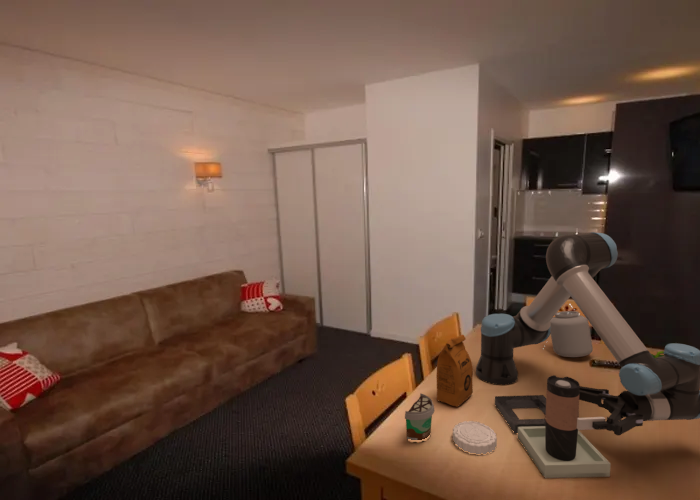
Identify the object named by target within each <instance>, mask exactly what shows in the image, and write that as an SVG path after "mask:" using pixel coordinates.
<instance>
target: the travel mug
mask: <svg viewBox="0 0 700 500" xmlns="http://www.w3.org/2000/svg"><path fill="white" fill-rule="evenodd" d="M546 379H547V380H546V396H545V397H546V415H544V416H545V418H544V419H545V446H546V451H547V453H548V454H549V455H550V456H552V457H554V458H556V459H558V460H562V461H571V460H573V459H575V457H576V448H577V436H578V429H577V418H580V417H579V416H580V413H579V412H580V400H579V392H580V386H581V385H580V383H579V381H578V380H576V379H574V378H572V377H569V376H564V377H559V376H556V375H554V374H553V375H550V376H548V377H547V378H546Z"/></svg>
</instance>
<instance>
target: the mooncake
mask: <svg viewBox="0 0 700 500" xmlns="http://www.w3.org/2000/svg"><path fill="white" fill-rule="evenodd" d="M453 440H454V442H455V444H457V445H458V447H460V448H462V449H463V450H464V451H468V452H470V453H476V454H481V453H483V454H486V453H487V452H489V453H490V452H492V450H495V451H496V448H497V447H496V446H497V444H498V443H497V442H498V438H497V433H496V432H495V431H494V429H492V428H491V427H490V426H489V425H486V424H485V423H481V422H480V421H473V420H469V421H468V420H464V421H462V422H458V423H457V424H455V425H454V427H453V428H452V441H453ZM454 442H453V443H454ZM458 447H457V448H458ZM495 447H496V448H495ZM492 453H493V452H492Z"/></svg>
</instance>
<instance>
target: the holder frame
mask: <svg viewBox="0 0 700 500" xmlns="http://www.w3.org/2000/svg"><path fill="white" fill-rule="evenodd" d="M495 405H496V406H497V407H496V406H495ZM494 406H495V407H496V409H497V408H498V409H499V410H498V409H497V410H498V412H499V411H500V412H501V413H500V412H499V413H500V415H501V414H502V415H503V416H502V415H501V416H502V418H503V417H504V418H503V420H504V421H505V420H506V421H507V422H506V421H505V422H506V424H507V423H508V424H509V425H508V424H507V425H508V427H509V426H510V427H511V428H510V427H509V428H510V429H512V430H513V431H514V433H518V427H531V426H545V418H522V419H520V418H519V417H518V415H517V413H515V411H514V410H513V409H539V410H540V411H541V412H542V413H543V414H544V416H546V396H545V395H544V394H535V395H534V394H533V395H531V394H530V395H529V394H528V395H499V396H498V395H495V396H494ZM512 430H511V431H512ZM513 431H512V432H513ZM514 433H513V434H514Z"/></svg>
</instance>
